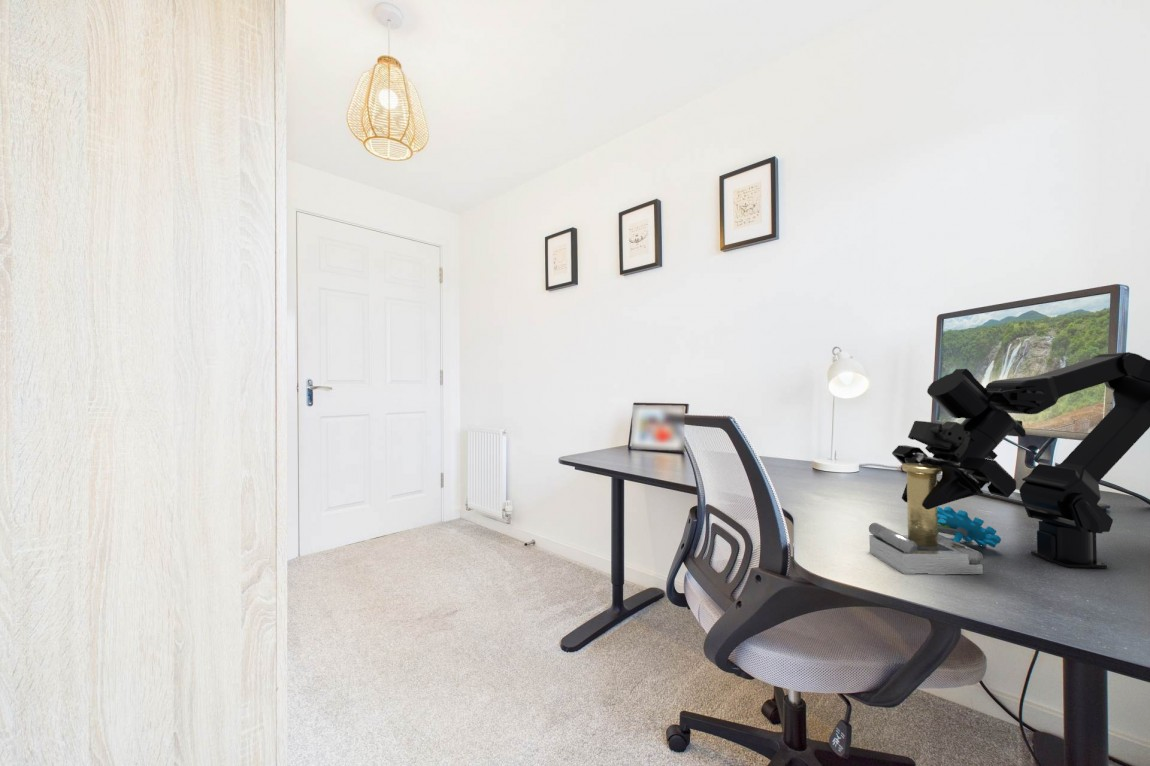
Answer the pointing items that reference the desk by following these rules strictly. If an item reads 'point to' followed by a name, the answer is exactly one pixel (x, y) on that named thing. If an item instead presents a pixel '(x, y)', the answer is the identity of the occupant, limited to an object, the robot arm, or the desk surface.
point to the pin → (918, 489)
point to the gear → (965, 527)
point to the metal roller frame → (923, 554)
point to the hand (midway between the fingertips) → (914, 503)
